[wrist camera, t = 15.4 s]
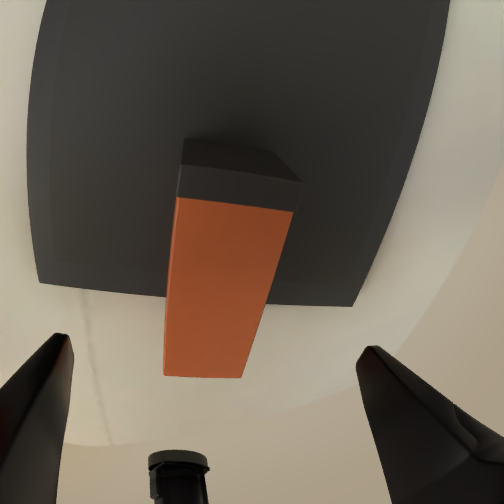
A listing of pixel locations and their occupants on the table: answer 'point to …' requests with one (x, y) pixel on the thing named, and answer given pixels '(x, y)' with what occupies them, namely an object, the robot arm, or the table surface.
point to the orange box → (223, 254)
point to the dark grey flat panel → (223, 128)
